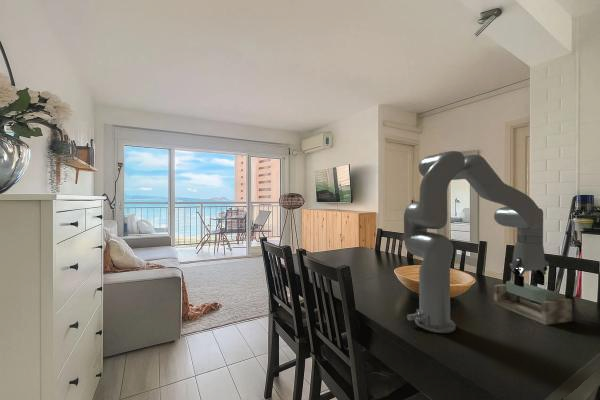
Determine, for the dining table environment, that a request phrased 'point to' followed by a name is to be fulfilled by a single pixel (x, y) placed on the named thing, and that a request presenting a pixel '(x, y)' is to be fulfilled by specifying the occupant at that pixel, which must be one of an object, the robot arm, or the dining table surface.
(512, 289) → the grey-green rectangular block
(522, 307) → the shelf frame
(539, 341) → the dining table surface
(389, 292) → the dining table surface
